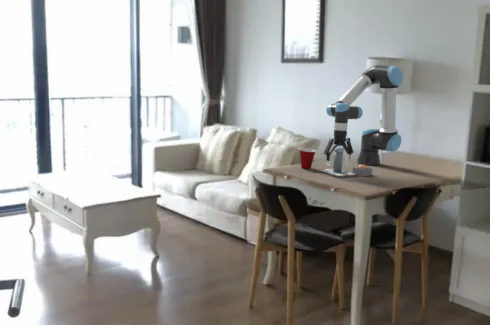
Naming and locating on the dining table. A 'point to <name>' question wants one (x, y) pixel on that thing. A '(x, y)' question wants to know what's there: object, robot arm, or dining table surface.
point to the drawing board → (336, 174)
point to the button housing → (362, 171)
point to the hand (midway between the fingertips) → (337, 165)
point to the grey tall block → (338, 160)
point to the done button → (362, 166)
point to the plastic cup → (306, 157)
